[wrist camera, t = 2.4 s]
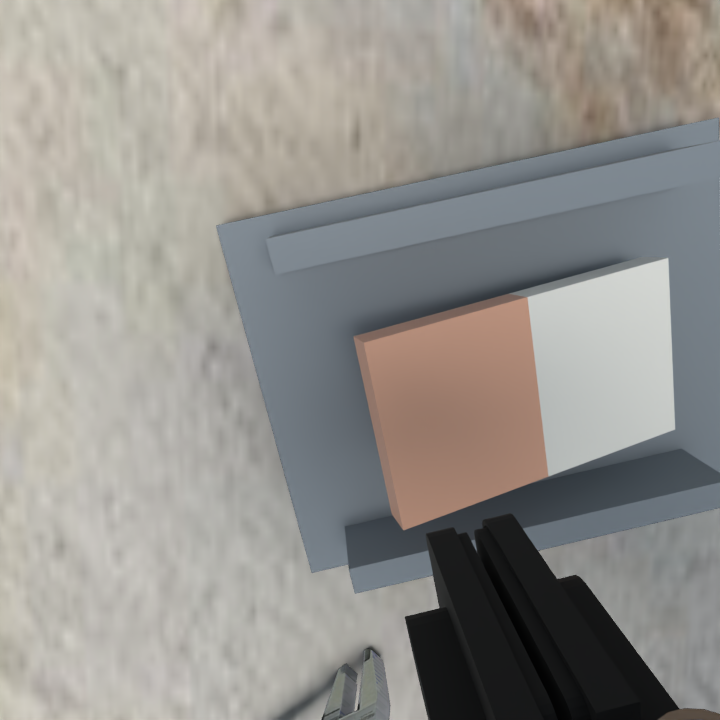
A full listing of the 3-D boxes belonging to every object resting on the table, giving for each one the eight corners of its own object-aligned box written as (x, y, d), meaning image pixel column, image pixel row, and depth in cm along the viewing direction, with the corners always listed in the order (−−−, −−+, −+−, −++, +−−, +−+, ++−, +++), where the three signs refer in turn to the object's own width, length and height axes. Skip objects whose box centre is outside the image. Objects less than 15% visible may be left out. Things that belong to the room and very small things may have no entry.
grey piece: (684, 125, 22) (785, 101, 18) (694, 458, 27) (776, 511, 22) (224, 224, 22) (199, 227, 17) (311, 546, 26) (311, 620, 22)
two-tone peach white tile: (642, 256, 20) (668, 257, 19) (651, 420, 22) (675, 429, 21) (353, 336, 18) (363, 342, 17) (391, 514, 20) (403, 530, 19)
